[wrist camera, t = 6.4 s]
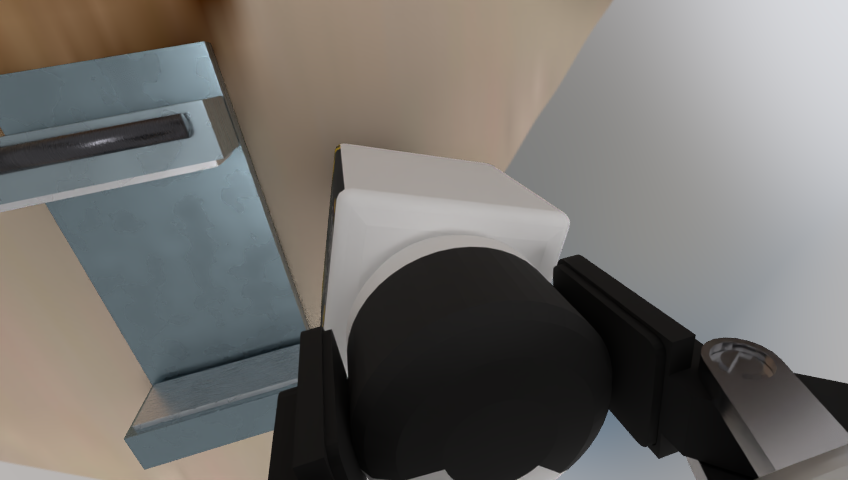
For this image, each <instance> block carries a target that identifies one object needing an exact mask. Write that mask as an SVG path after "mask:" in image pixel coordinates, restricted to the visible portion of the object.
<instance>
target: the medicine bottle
mask: <svg viewBox="0 0 848 480" xmlns="http://www.w3.org/2000/svg"><path fill="white" fill-rule="evenodd" d="M569 226H570V220H569V218H568V217H567V215H566V214H565V213H564V212H562V211H561V210H559V209H558V208H556V207H555V206H553V205H552V204H550V203H549V202H547V201H546V200H544V199H543V198H541V197H540V196H538V195H537V194H535V193H534V192H532V191H531V190H529V189H528V188H526V187H525V186H523V185H522V184H520V183H519V182H517V181H516V180H514V179H513V178H511V177H509V176H508V175H507V174H505V173H504V172H502V171H501V170H499V169H498V168H496V167H495V166H493V165H491V164H489V163H481V162H474V161H467V160H460V159H453V158H446V157H438V156H431V155H424V154H417V153H410V152H403V151H396V150H388V149H381V148H374V147H367V146H360V145H353V144H346V143H344V144H340V145H338V146H337V147H336V150H335V155H334V166H333V176H332V187H331V198H330V208H329V219H328V230H327V240H326V251H325V262H324V272H323V283H322V303H321V326H323V328H324V330H325V331H326V330H330V329H332V331H333V333H334V336H335V340H336V343H337V346H338V349H339V352H340V355H341V358H342V361H343V365H344V368H345V371H346V374H347V377H348V385H349V405H350V424H351V442H352V446H353V449H354V452H355V455H356V458H357V461H358V463H359V466H360V468H361V470H362V471H363V473H364V474H365V475H366V477H367V478H368V479H369V480H555V479H557V478H558V477H559V476H560V475H562V474H563V473H564V472H565V471H567V470H568V469H569V468H570V467H571V466H572V465H573V464H574V463H575V462H576V461H577V460H578V459H579V458H580V457H581V456H582V455H583V454H584V453H585V451H586V450H587V449H588V448H589V447H590V445H591V444H592V442H593V441H594V439H595V438H596V436H597V435H598V433H599V431H600V429H601V427H602V425H603V423H604V421H605V418H606V415H607V412H608V409H609V405H610V400H611V391H612V374H613V372H612V364H611V358H610V355H609V352H608V349H607V347H606V345H605V343H604V341H603V340H602V338H601V336H600V335H599V334H598V332H597V331H596V330H595V329H594V328H593V327H592V326H591V325H590V324H589V323H588V321H587V320H586V319H585V318H584V317H583V316H582V315H581V314H580V313H579V312H578V311H577V310H576V309H575V308H574V307H573V306H572V305H571V304H570V303H569V302H568V301H567V300H566V299H565V298H564V297H563V296H562V295H561V294H560V293H559V292H558V291H557V290H556V289H555V288H554V287H553V285H552V284H551V280H552V277H553V268H554V267H555V266H556V265H557V262H558V259H559V256H560V253H561V250H562V247H563V244H564V241H565V238H566V235H567V232H568V229H569Z"/></svg>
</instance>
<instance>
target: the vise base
mask: <svg viewBox="0 0 848 480" xmlns="http://www.w3.org/2000/svg"><path fill="white" fill-rule="evenodd" d="M217 96H222V97H223V100H224V103H225V105H226V108H227V111H228V114H229V117H230V119H231V122H232V125H233V128H234V131H235V134H236V136H237V139H238V142H239V146H238V147H237V148H235V149H234V150H233V151H232V153H233V154H232V155H231V156H230V157H228V158H227V159H226V160H225V161H224V162H223V163H222V164H221V165H220V166H218V167H214V168H210V169H205V170H200V171H195V172H191V173H186V174H181V175H176V176H171V177H167V178H162V179H157V180H152V181H147V182H143V183H138V184H133V185H128V186H124V187H119V188H114V189H109V190H104V191H100V192H95V193H90V194H85V195H80V196H76V197H71V198H66V199H61V200H57V201H52V202H47V203H45V204H46V205H47V207H48V209H49V210H50V212H51V214H52V216H53V217H54V219H55V221H56V222H57V224H58V226H59V227H60V229H61V231H62V233H63V234H64V236H65V238H66V239H67V241H68V243H69V244H70V246H71V248H72V250H73V251H74V253H75V255H76V256H77V258H78V260H79V261H80V263H81V265H82V267H83V268H84V270H85V272H86V273H87V275H88V277H89V278H90V280H91V282H92V284H93V285H94V287H95V289H96V290H97V292H98V294H99V295H100V297H101V299H102V301H103V302H104V304H105V306H106V307H107V309H108V311H109V312H110V314H111V316H112V318H113V319H114V321H115V323H116V324H117V326H118V328H119V329H120V331H121V333H122V335H123V336H124V338H125V340H126V341H127V343H128V345H129V346H130V348H131V350H132V352H133V353H134V355H135V357H136V358H137V360H138V362H139V363H140V365H141V367H142V369H143V370H144V372H145V374H146V375H147V377H148V379H149V380H150V382H151V384H152V385H153V386H152V388H151V390H150V391H149V393H148V395H147V397H146V399H145V401H144V403H143V404H142V406H141V408H140V410H139V412H138V414H137V415H136V417H135V419H134V421H133V423H132V425H131V427H130V428H129V430H128V432H127V434H126V436H125V438H124V440H125V442H126V443H127V445H128V446H129V448H130V449H131V450H132V452H133V453H134V455H135V456H136V458H137V459H138V461H139V462H140V464H141V465H142V467H143V468H144V470H145V469H148V468H151V467H155V466H158V465H161V464H165V463H168V462H171V461H174V460H178V459H181V458H184V457H187V456H191V455H194V454H197V453H200V452H204V451H207V450H210V449H213V448H217V447H220V446H223V445H226V444H230V443H233V442H236V441H240V440H243V439H246V438H249V437H253V436H256V435H259V434H262V433H266V432H269V431H272V430H274V425H275V416H276V408H277V399H278V395H279V393H280V391H284V390H287V389H290V388H294V387H297V384H298V367H299V350H300V334H301V332H302V331H306V330H309V329H310V328H309V325H308V322H307V319H306V317H305V314H304V311H303V308H302V305H301V302H300V299H299V296H298V294H297V291H296V288H295V285H294V282H293V279H292V276H291V273H290V271H289V268H288V265H287V262H286V259H285V256H284V253H283V250H282V248H281V245H280V242H279V239H278V236H277V233H276V230H275V227H274V225H273V222H272V219H271V216H270V213H269V210H268V207H267V204H266V202H265V199H264V196H263V193H262V190H261V187H260V184H259V181H258V179H257V176H256V173H255V170H254V167H253V164H252V161H251V158H250V156H249V153H248V150H247V147H246V144H245V141H244V138H243V135H242V133H241V130H240V127H239V124H238V121H237V118H236V115H235V112H234V110H233V107H232V104H231V101H230V98H229V95H228V92H227V89H226V87H225V84H224V81H223V78H222V75H221V72H220V69H219V66H218V64H217V61H216V58H215V55H214V52H213V49H212V46H211V43H208V42H198V43H192V44H186V45H180V46H174V47H168V48H162V49H156V50H149V51H143V52H137V53H131V54H125V55H119V56H113V57H107V58H101V59H95V60H89V61H83V62H77V63H70V64H64V65H58V66H52V67H46V68H40V69H34V70H28V71H22V72H16V73H10V74H4V75H0V127H1V129H2V131H3V132H4V134H5V136H6V135H11V134H17V133H22V132H28V131H33V130H38V129H44V128H49V127H55V126H60V125H65V124H71V123H76V122H82V121H87V120H93V119H98V118H103V117H109V116H114V115H120V114H125V113H131V112H136V111H141V110H147V109H152V108H158V107H163V106H168V105H174V104H179V103H185V102H190V101H196V100H201V99H206V98H212V97H217Z"/></svg>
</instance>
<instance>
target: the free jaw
mask: <svg viewBox="0 0 848 480" xmlns="http://www.w3.org/2000/svg"><path fill="white" fill-rule="evenodd" d="M238 146H239V142H238V139H237V136H236V134H235V131H234V128H233V125H232V122H231V119H230V117H229V114H228V111H227V108H226V105H225V103H224V100H223V97H222V96H217V97H212V98H206V99H201V100H196V101H190V102H185V103H179V104H174V105H168V106H163V107H158V108H152V109H147V110H141V111H136V112H131V113H125V114H120V115H114V116H109V117H103V118H98V119H93V120H87V121H82V122H76V123H71V124H65V125H60V126H55V127H49V128H44V129H38V130H33V131H28V132H22V133H17V134H11V135H6V136H0V212H4V211H9V210H13V209H18V208H23V207H28V206H33V205H37V204H42V203H47V202H52V201H57V200H61V199H66V198H71V197H76V196H80V195H85V194H90V193H95V192H100V191H104V190H109V189H114V188H119V187H124V186H128V185H133V184H138V183H143V182H147V181H152V180H157V179H162V178H167V177H171V176H176V175H181V174H186V173H191V172H195V171H200V170H205V169H210V168H214V167H218V166H220V165H221V164H222V163H223V162H224V161H225V160H226V159H227V158H228V157H230V156H231V155H232V154H233V153H232V151H233V150H234V149H235V148H237V147H238Z"/></svg>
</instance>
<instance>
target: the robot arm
mask: <svg viewBox="0 0 848 480" xmlns="http://www.w3.org/2000/svg"><path fill="white" fill-rule="evenodd" d="M553 287H554V288H555V289H556V290H557V291H558V292H559V293H560V294H561V295H562V296H563V297H564V298H565V299H566V300H567V301H568V302H569V303H570V304H571V305H572V306H573V307H574V308H575V309H576V310H577V311H578V312H579V313H580V314H581V315H582V316H583V317H584V318H585V319H586V320H587V321H588V323H589V324H590V325H591V326H592V327H593V328H594V329H595V330H596V331H597V332H598V334H599V335H600V336H601V338H602V340H603V341H604V343H605V345H606V347H607V349H608V352H609V355H610V358H611V364H612V372H613V374H612V391H611V400H610V405H609V410H610V411H611V412H612V413H613V415H614V416H615V417H616V418H617V419H618V420H619V421H620V423H621V424H622V425H623V426H624V427H625V428H626V430H627V431H629V433H630V434H631V435H632V436H633V438H634V439H635V440H636V441H637V442H638V443H639V444H640V445H641V446H643V447H647V446H648V447H649V448H650V449H651V451H652V452H653V453H654V454H655V455H656V456H657V457H658V459H660V458H662V457H665V456H668V455H670V454H673V453H676V452H678V451H679V452H680V453H681V454H682V455H683V456H686V457H687V461H688V463H689V465H690V467H691V469H692V472H693V474H694V476H695V478H696V480H848V384H847V383H842V382H836V381H832V380H826V379H822V378H817V377H812V376H807V375H801V374H796V373H793V372H792V371H791V370H790V369H789V367H788V366H787V365H786V364H785V363H784V362H783V361H782V360H781V359H780V358H779V357H778V356H777V355H776V354H774V353H773V352H772V351H770V350H768V349H767V348H765V347H763V346H761V345H758V344H756V343H753V342H750V341H747V340H741V339H737V338H718V339H713V340H711V341H708V342H706V343H705V344H704V345H703V344H702V343H700V342H699V341H697V340H696V339H695V336H696V335H695V334H694V333H692V332H691V331H689V330H688V329H686V328H685V327H683V326H682V325H681V324H679V323H678V322H676V321H675V320H673V319H672V318H671V317H669V316H668V315H666V314H665V313H663V312H662V311H660V310H659V309H658V308H656V307H655V306H653V305H652V304H650V303H649V302H647V301H646V300H645V299H643V298H642V297H640V296H639V295H637V294H636V293H635V292H633V291H632V290H630V289H629V288H627V287H626V286H624V285H623V284H622V283H620V282H619V281H617V280H616V279H614V278H613V277H611V276H610V275H609V274H607V273H606V272H604V271H603V270H601V269H600V268H598V267H597V266H595V265H594V264H593V263H591V262H590V261H588V260H587V259H585V258H584V257H583V256H581V255H574V256H571V257H567V258H563V259H560V260H559V261H558V263H557V266H555V267H554V268H553ZM268 480H367V477H366V475H365V474H364V473H363V471H362V470H361V468H360V466H359V463H358V461H357V458H356V455H355V452H354V449H353V446H352V442H351V424H350V405H349V385H348V377H347V374H346V371H345V368H344V365H343V361H342V358H341V355H340V352H339V349H338V346H337V343H336V340H335V336H334V333H333V331H332V329H330V330H326V331H325V330H324V328H323V326H320V327H317V328H313V329H309V330H306V331H302V332H301V334H300V350H299V367H298V384H297V387H294V388H290V389H287V390H284V391H280V393H279V395H278V399H277V408H276V416H275V425H274V433H273V442H272V450H271V459H270V467H269V476H268Z"/></svg>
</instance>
